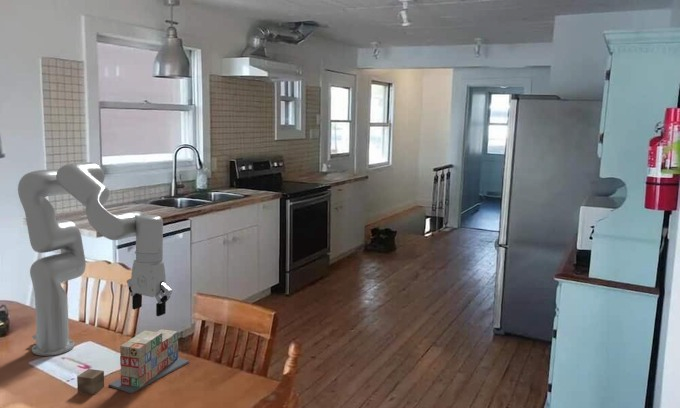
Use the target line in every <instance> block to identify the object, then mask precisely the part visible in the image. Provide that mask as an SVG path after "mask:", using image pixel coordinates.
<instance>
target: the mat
mask: <svg viewBox="0 0 680 408" xmlns="http://www.w3.org/2000/svg"><path fill="white" fill-rule="evenodd" d="M189 363H190V360H188V359H185V358H183V357H182V358H181V357H178V358H177V359H176V360H175V361H174V362H172V363H171V364H170V365H168V366H167V367H166V368H164V369H163V370H162V371H161V372H159V373H158V374H157V375H156V376H155V377H153V378H152V379H151V380H149V381H148V382H147V383H145V384H144V385H143V386H141V387H140V388H136V387H131V386H124V385H121V377H120V378H118V379H116V380H115V381H112V382H110V383H108V387H110V388H114V389H116V390H119V391H123V392H124V393H128V394H134V393H135V392H137V391H139V390H141V389H143V388H145V387H146V386H148V385H150V384H152V383H153V382H156V381H157V380H159V379H161V378H163V377H164V376H167V375H168V374H170V373H173V372H174V371H176V370H178V369H180V368H182V367H183V366H185V365H187V364H189Z"/></svg>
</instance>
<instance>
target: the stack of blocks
mask: <svg viewBox="0 0 680 408" xmlns="http://www.w3.org/2000/svg"><path fill="white" fill-rule="evenodd" d="M178 337H179V336H178V331H176V330H171V329H170V330H168V329H161V328H160V329H159V330H157V331H150V330H142V331H141V332H140V333H139V334H136V336H134V337H132V338H131V339H129V340H128V341H126V342H124V343H123V344H121V345H120V347H119V349H120V358H119V359H120V363H119V365H120V378H121V385H124V386H131V387H136V388H140V387H141V386H143V385H144V384H145V383H147V382H148V381H149V380H151V379H152V378H153V377H155V376H156V375H157V374H158V373H159V372H161V371H162V370H163V369H164V368H166V367H167V366H168V365H170V364H171V363H172V362H174V361H175V360H176V359H177V358H179V340H178Z"/></svg>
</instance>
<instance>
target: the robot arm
mask: <svg viewBox="0 0 680 408" xmlns="http://www.w3.org/2000/svg"><path fill="white" fill-rule="evenodd" d="M104 180H105V173H104V171H103V169H102V168H101V166H100V165H98V164H97V163H94V162H73V163H68V164H64V165H62V166H61V167H59V168H56V169H55V168H54V169H41V170H33V171H30V172H27V173H26V174H24V175H23V176H22V177H21V178H20V179H19V182H18V184H17V185H18V186H17V195H18V197H19V200H20V204H21V205H22V209H23V210H24V211H23V212H24V214H25V221H26V226H27V233H28V238H29V243H30V246H31V249H32V250H33V251H34V252H36V253H38V254H44V253H49V252H55V251H60V253H57V254H52V255H51V254H50V255H47V256H44V257H41V258H39V259H37V260H35V261H34V262H33V263H32V264H31V266H30V269H29V276H30V280H31V284H32V287H33V292H34V306H35V307H34V308H35V328H36V329H35V331H36V333H35V334H32V336H31V338H32V339H33V340H35V344H33V346H32V347H31V352H32V354H34V355H37V356H43V357H46V356H47V357H48V356H50V357H51V356H56V355H61V354H65V353H66V352H69V351H71V350H72V349H73V348H74V347H75V341H74V340H73V339H72V338H70V332H69V327H70V326H69V325H70V324H69V306H68V305H69V304H68V295H67V292H66V290H65V289H64V287H63V286H62V283H65V282H68V281H72V280H74V279H75V280H76V279H77V278H79V277H81V276H82V275H83V274H84V273H85V270H86V267H87V265H86V258H85V257H86V256H85V251H84V250H85V249H84V244H83V239H82V233H81V231H80V228H79V227H78V225H77V224H76V222H74V221H72V220H68V219H61V220H57V218H56V210H55V208H54V207H53V205H52V204H51V202H50V201H49V200H48V199H47V198H46V197H51V196H59V195H60V196H61V195H71V196H72V197H73V198H74V199H75V200H77V201H78V202H79V203H81V204H82V206H84V207H85V215H86V218H87V220H88V221H87V222H88V223H89V224H90V226H91V227H92V228H93V229H94V230H95V231H97V233H99V234H100V235H101V236H102V237H104V238H106V239H108V240H111V241H119V240H123V239H128V238H132V237H135V251H134V255H135V259H134V260H133V264H132V267H131V269H132V270H131V278H129V279H127V280H126V283H127V286H128V290H129V292H130V297H132V298H131V299H132V301H131V302H132V304H131V305H132V308H131V309H132V310H137V309H139V308H140V309H141V308H142V307H143V304H142V303H143V300H142V299H143V296H145V297H150V298H154V299H156V301H157V303H156V306H155V308H156V309H155V316H156V317H161V316H163V315H166V313H167V312H166V311H167V310H166V307H167V306H166V305H167V304H166V302H168V301H169V299H170V298H171V295H172V294H173V289H172V288H171V287H169V286H168V285H167V282H166V270H165V269H166V268H165V264H164V261H163V259H164V258H163V255H164V254H163V248H164V247H163V246H164V241H163V240H164V236H163V235H164V220H163V218H162V217H161V216H159V215H155V214H147V213H145V212H142V211H139V210H133V211H132V210H131V211H128V212H127V211H126V212H121V213H115V214H113V213H111V212H109V210H107V209H106V208H105V207H104V205H105V204H106V203H107V201H108V199H109V197H110V190H109V188H108V187H107V186H106V185H105V184H104ZM160 296H161V297H160Z"/></svg>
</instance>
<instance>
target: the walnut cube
mask: <svg viewBox="0 0 680 408" xmlns="http://www.w3.org/2000/svg"><path fill="white" fill-rule="evenodd" d="M76 384H77V393H78V394H83V395H84V394H85V395H91V396H94V395H95V394H97V393H98V392H99V391H101V390H102V389H104V387H105V370H101V369H100V370H99V369H92V368H87V369H86V370H84V371H83V372H82V373H80V374H78V375H77V377H76Z"/></svg>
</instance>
